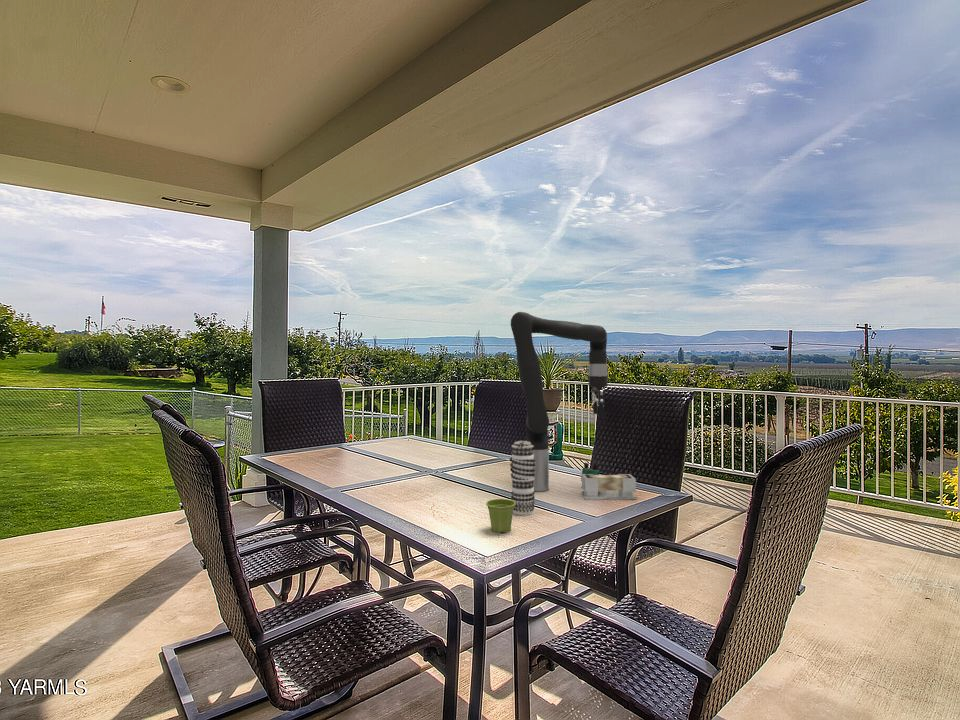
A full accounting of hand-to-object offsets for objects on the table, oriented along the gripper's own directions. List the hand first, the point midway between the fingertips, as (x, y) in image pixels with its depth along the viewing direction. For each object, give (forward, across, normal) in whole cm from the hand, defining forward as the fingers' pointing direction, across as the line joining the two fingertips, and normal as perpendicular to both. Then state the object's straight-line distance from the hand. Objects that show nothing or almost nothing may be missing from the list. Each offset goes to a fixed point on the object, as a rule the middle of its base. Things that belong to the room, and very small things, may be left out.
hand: (598, 415), depth 201 cm
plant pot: (+32, +44, -40) cm, 68 cm away
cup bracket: (+32, +4, +3) cm, 32 cm away
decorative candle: (+32, +24, -32) cm, 51 cm away
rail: (+29, +3, +3) cm, 29 cm away
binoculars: (+32, -11, 0) cm, 34 cm away
